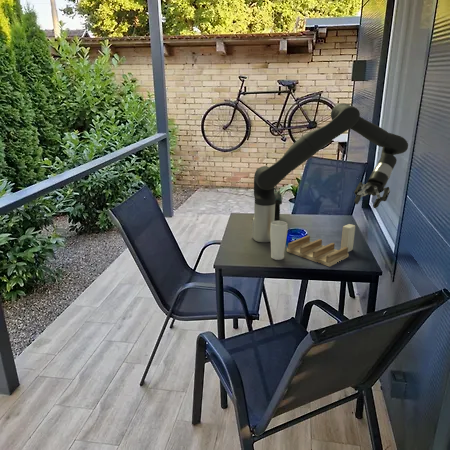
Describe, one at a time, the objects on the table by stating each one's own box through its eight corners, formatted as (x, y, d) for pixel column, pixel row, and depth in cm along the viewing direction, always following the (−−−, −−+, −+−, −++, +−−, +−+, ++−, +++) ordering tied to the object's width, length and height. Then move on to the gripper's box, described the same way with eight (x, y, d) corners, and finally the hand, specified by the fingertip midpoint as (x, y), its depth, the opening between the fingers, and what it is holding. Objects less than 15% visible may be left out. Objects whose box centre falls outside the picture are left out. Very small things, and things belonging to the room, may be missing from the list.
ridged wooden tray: (286, 251, 167) (287, 242, 166) (306, 243, 176) (306, 234, 175) (329, 266, 152) (330, 257, 151) (348, 256, 162) (349, 247, 160)
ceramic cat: (281, 226, 198) (283, 187, 191) (268, 226, 198) (270, 187, 192) (277, 214, 217) (279, 179, 210) (265, 214, 217) (266, 179, 210)
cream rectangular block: (340, 250, 168) (342, 226, 164) (346, 247, 171) (349, 223, 168) (346, 252, 166) (349, 228, 162) (352, 249, 169) (355, 225, 165)
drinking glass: (273, 262, 157) (274, 226, 152) (266, 255, 163) (267, 221, 158) (288, 260, 158) (290, 225, 154) (281, 253, 165) (283, 219, 160)
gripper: (363, 168, 177) (347, 197, 173) (394, 172, 167) (378, 203, 163) (367, 178, 182) (352, 206, 178) (398, 183, 172) (382, 213, 168)
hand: (364, 205), depth 171 cm, fingers open, 8 cm apart
